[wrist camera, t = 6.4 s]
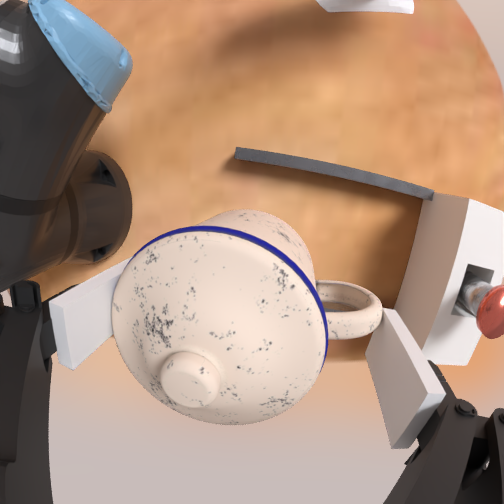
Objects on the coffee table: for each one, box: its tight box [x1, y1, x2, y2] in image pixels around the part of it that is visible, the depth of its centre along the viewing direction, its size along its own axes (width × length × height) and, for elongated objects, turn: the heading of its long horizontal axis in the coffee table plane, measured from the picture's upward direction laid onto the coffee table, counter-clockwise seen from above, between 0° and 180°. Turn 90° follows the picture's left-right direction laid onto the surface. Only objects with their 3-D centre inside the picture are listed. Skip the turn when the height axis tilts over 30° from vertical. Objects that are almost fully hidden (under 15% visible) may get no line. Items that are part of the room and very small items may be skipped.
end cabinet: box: [393, 192, 504, 365], centre depth 26 cm, size 7×16×10 cm, turn 171°
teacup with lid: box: [112, 209, 383, 425], centre depth 14 cm, size 12×9×12 cm
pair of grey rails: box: [235, 147, 434, 312], centre depth 31 cm, size 22×16×2 cm
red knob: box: [457, 271, 504, 339], centre depth 20 cm, size 4×4×7 cm
